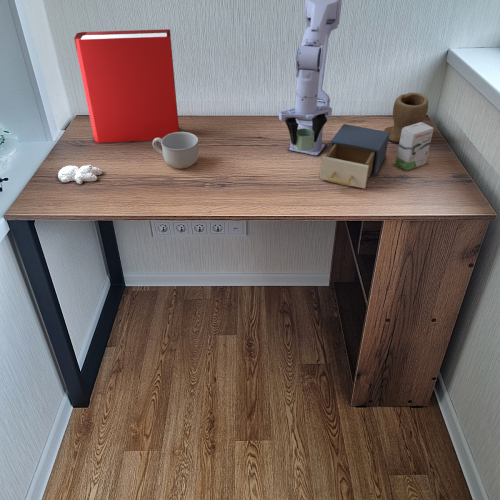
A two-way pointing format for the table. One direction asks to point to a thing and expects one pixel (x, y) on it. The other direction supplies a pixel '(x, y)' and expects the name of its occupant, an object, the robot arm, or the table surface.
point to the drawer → (347, 165)
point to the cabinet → (363, 141)
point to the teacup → (178, 149)
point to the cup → (304, 139)
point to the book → (128, 84)
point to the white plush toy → (79, 174)
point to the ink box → (414, 146)
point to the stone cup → (407, 113)
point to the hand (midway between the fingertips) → (303, 141)
